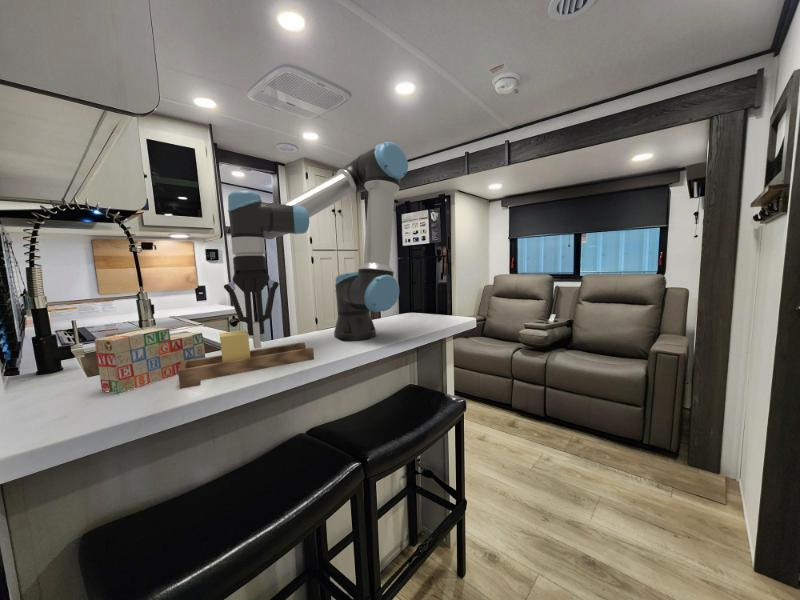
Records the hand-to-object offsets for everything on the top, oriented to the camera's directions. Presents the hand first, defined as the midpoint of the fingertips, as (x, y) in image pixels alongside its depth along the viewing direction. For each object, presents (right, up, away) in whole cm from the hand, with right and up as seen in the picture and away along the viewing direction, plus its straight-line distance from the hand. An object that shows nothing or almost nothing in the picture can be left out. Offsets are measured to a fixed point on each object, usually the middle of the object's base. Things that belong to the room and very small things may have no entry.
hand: (257, 347), depth 83 cm
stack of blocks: (-23, -7, -2) cm, 25 cm away
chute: (-1, -6, 0) cm, 6 cm away
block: (-4, -5, -2) cm, 7 cm away
